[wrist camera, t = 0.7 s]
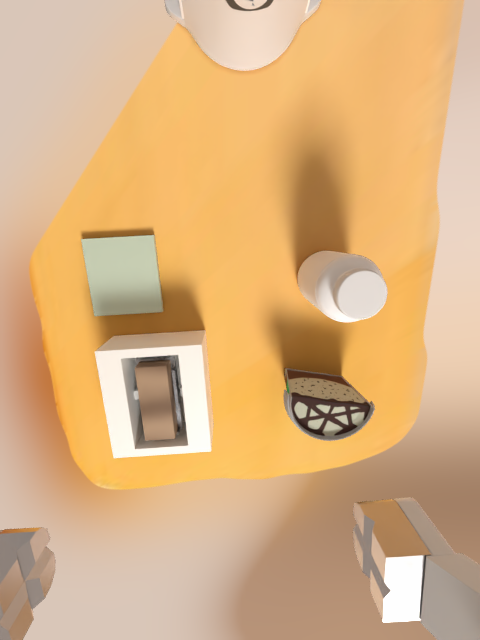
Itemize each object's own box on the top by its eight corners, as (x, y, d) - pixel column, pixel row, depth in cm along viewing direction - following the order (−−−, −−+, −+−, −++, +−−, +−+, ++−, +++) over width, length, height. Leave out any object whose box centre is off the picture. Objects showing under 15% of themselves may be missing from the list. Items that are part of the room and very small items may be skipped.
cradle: (137, 354, 46) (133, 359, 44) (175, 352, 46) (172, 357, 44) (148, 428, 49) (144, 436, 47) (183, 425, 49) (181, 433, 47)
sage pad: (83, 239, 45) (81, 239, 44) (154, 235, 45) (153, 235, 44) (96, 314, 47) (94, 316, 47) (163, 310, 48) (162, 312, 47)
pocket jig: (113, 335, 48) (94, 351, 41) (205, 330, 48) (201, 344, 42) (128, 429, 52) (113, 458, 45) (213, 424, 52) (211, 451, 46)
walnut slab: (140, 360, 45) (134, 368, 42) (170, 358, 45) (166, 366, 42) (150, 429, 47) (145, 440, 45) (178, 427, 47) (175, 438, 45)
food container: (268, 401, 52) (278, 438, 42) (275, 366, 50) (287, 396, 41) (341, 411, 53) (366, 449, 43) (350, 377, 51) (378, 409, 42)
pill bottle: (285, 288, 47) (310, 309, 33) (315, 240, 46) (354, 240, 31) (329, 313, 49) (372, 344, 34) (359, 267, 47) (418, 279, 32)
